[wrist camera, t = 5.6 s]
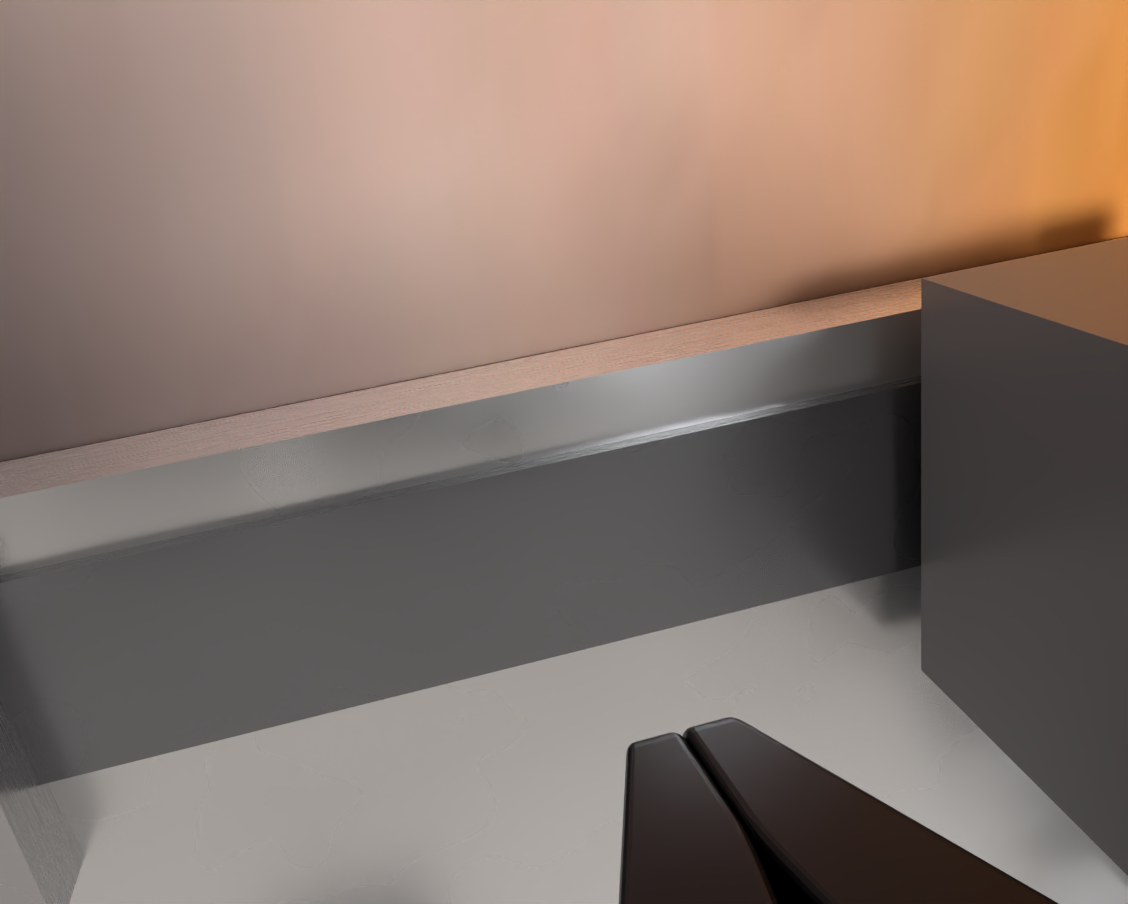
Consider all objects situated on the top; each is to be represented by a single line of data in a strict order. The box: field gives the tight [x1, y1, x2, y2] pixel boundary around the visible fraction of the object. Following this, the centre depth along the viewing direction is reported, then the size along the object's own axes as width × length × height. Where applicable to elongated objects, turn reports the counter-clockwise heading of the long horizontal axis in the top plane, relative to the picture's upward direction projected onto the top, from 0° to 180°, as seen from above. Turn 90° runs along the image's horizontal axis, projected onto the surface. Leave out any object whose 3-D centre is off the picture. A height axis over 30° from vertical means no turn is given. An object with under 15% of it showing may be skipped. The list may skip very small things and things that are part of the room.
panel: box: [0, 237, 1128, 904], centre depth 13 cm, size 22×16×2 cm
